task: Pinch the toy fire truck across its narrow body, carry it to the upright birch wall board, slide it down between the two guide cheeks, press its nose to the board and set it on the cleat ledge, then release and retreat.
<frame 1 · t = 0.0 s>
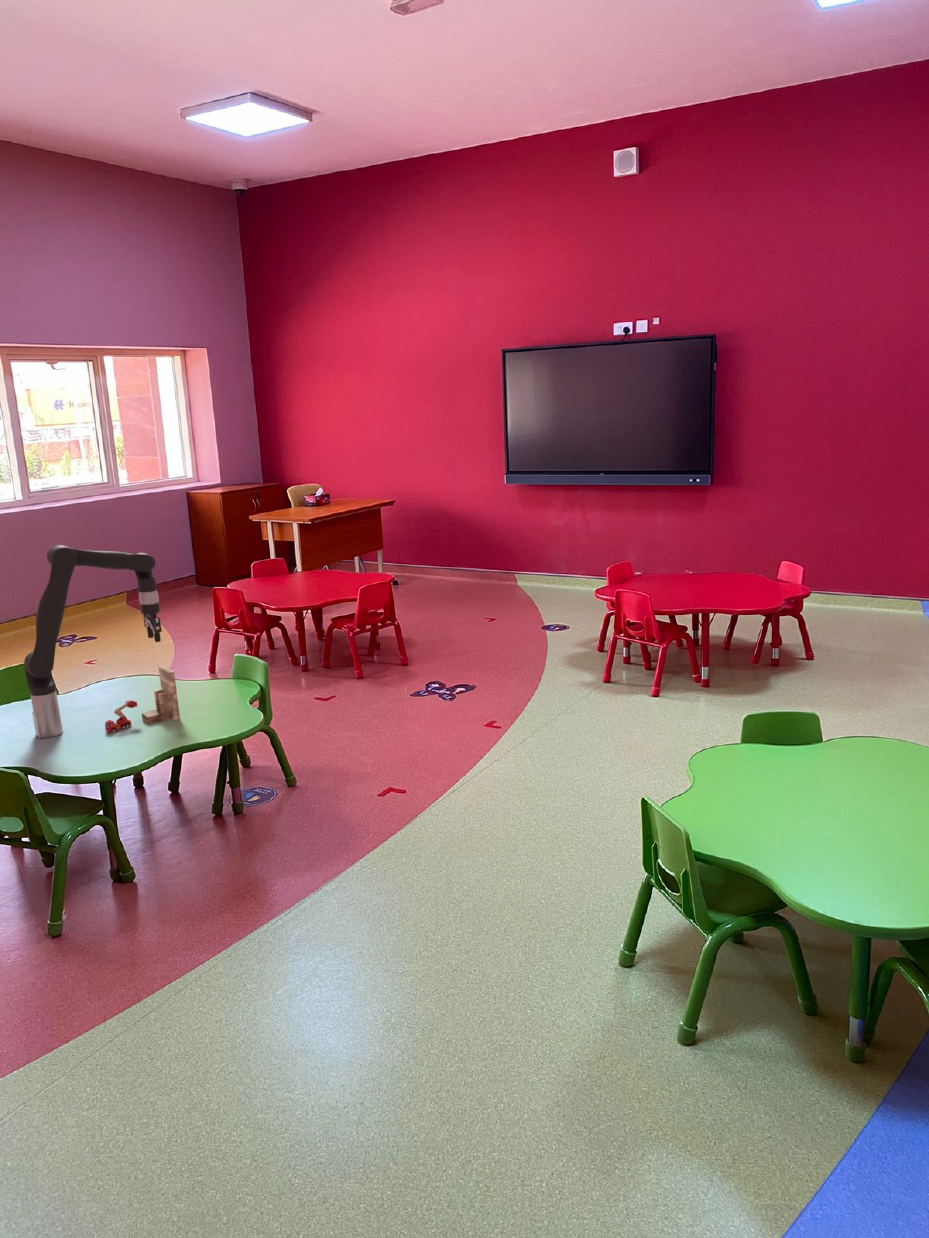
hand: (154, 639, 379), 29 cm above the table, fingers open, 8 cm apart
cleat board: (172, 715, 375), on the table
toy fire truck: (122, 728, 364), on the table
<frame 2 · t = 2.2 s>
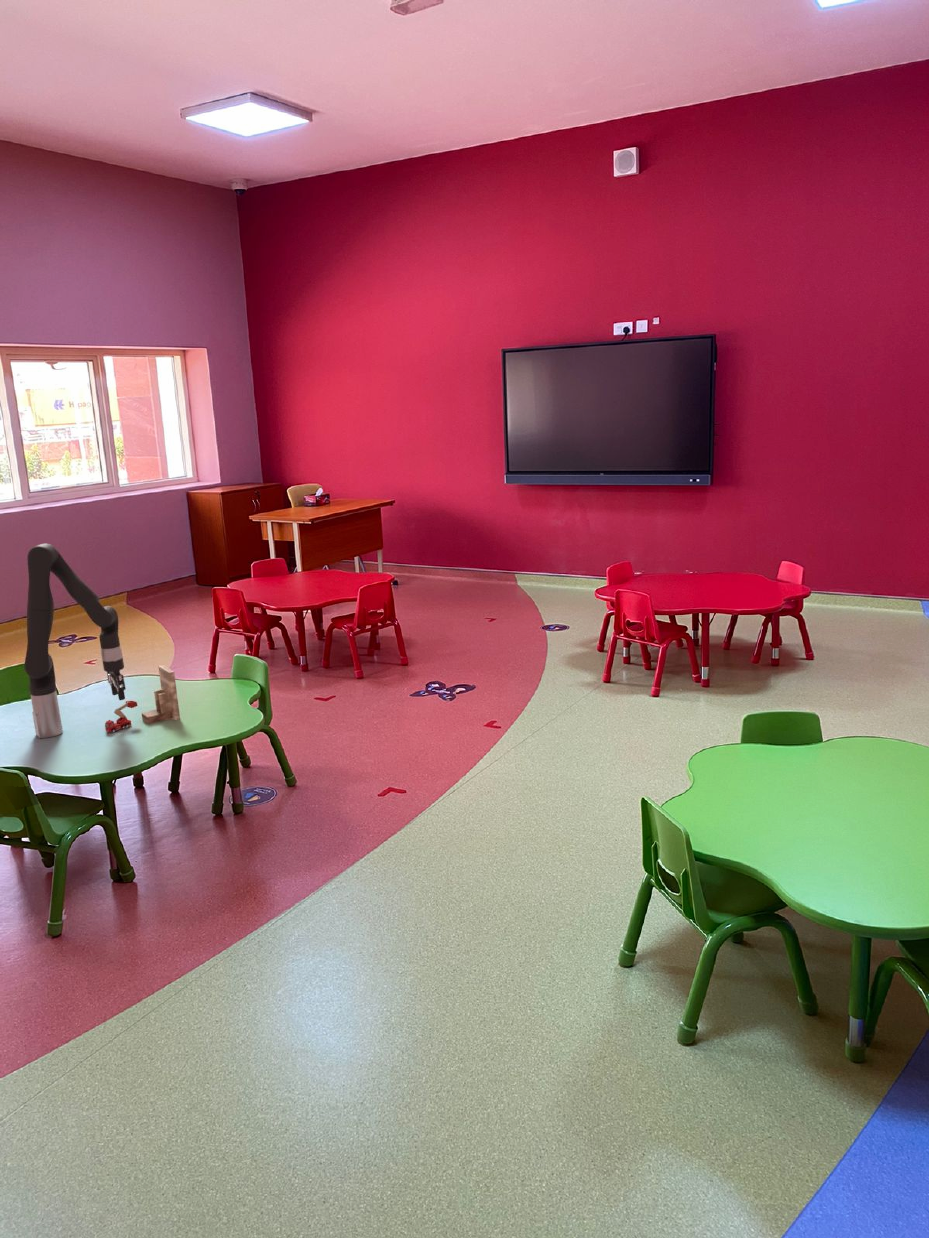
hand: (118, 697, 361), 13 cm above the table, fingers open, 8 cm apart
nothing on the table moved.
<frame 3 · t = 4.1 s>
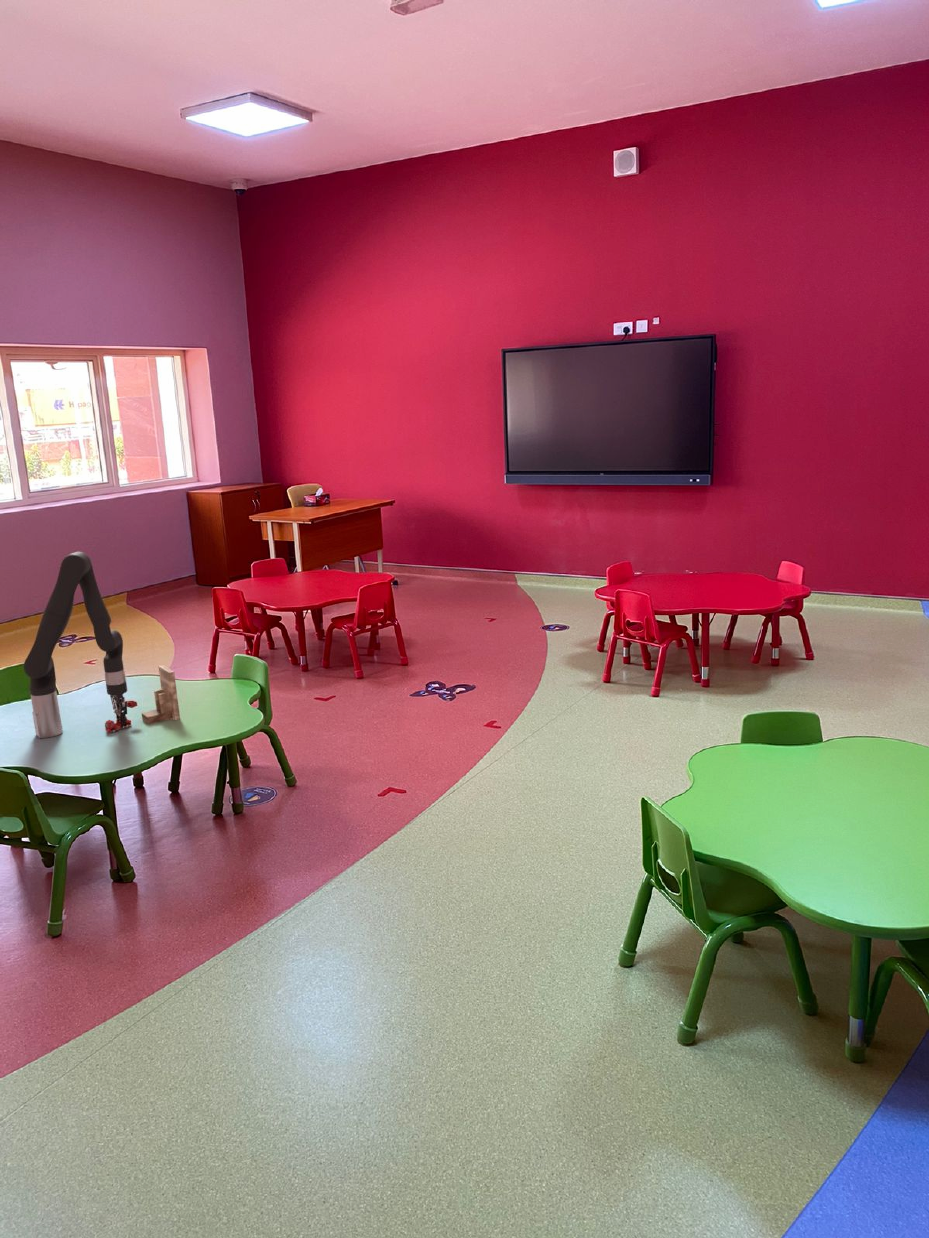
hand: (121, 722, 363), 2 cm above the table, fingers closed on toy fire truck, 4 cm apart
toy fire truck: (122, 728, 364), on the table, touching gripper
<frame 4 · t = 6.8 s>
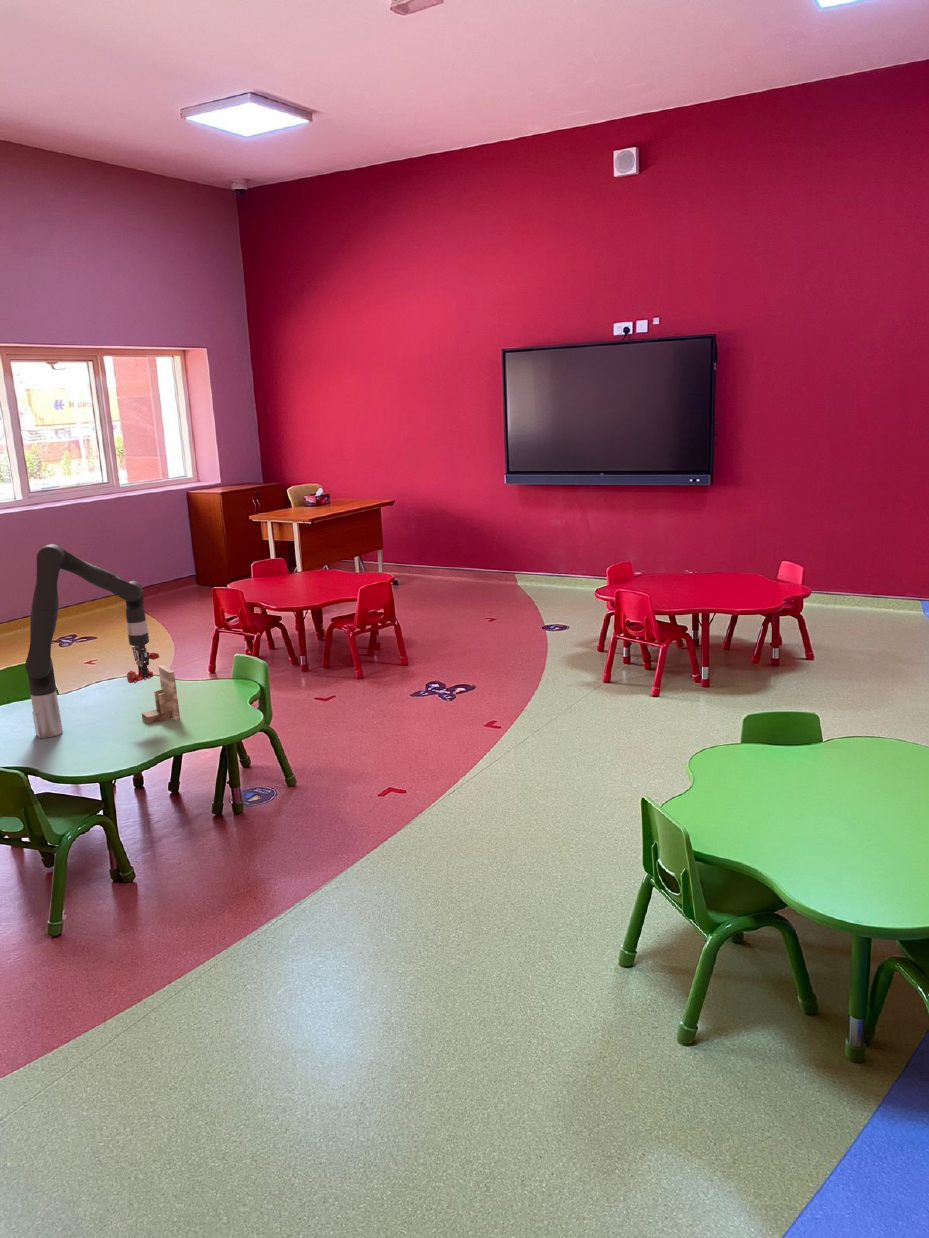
hand: (143, 673, 365), 20 cm above the table, fingers closed on toy fire truck, 3 cm apart
toy fire truck: (144, 679, 366), point 17 cm above the table, touching gripper
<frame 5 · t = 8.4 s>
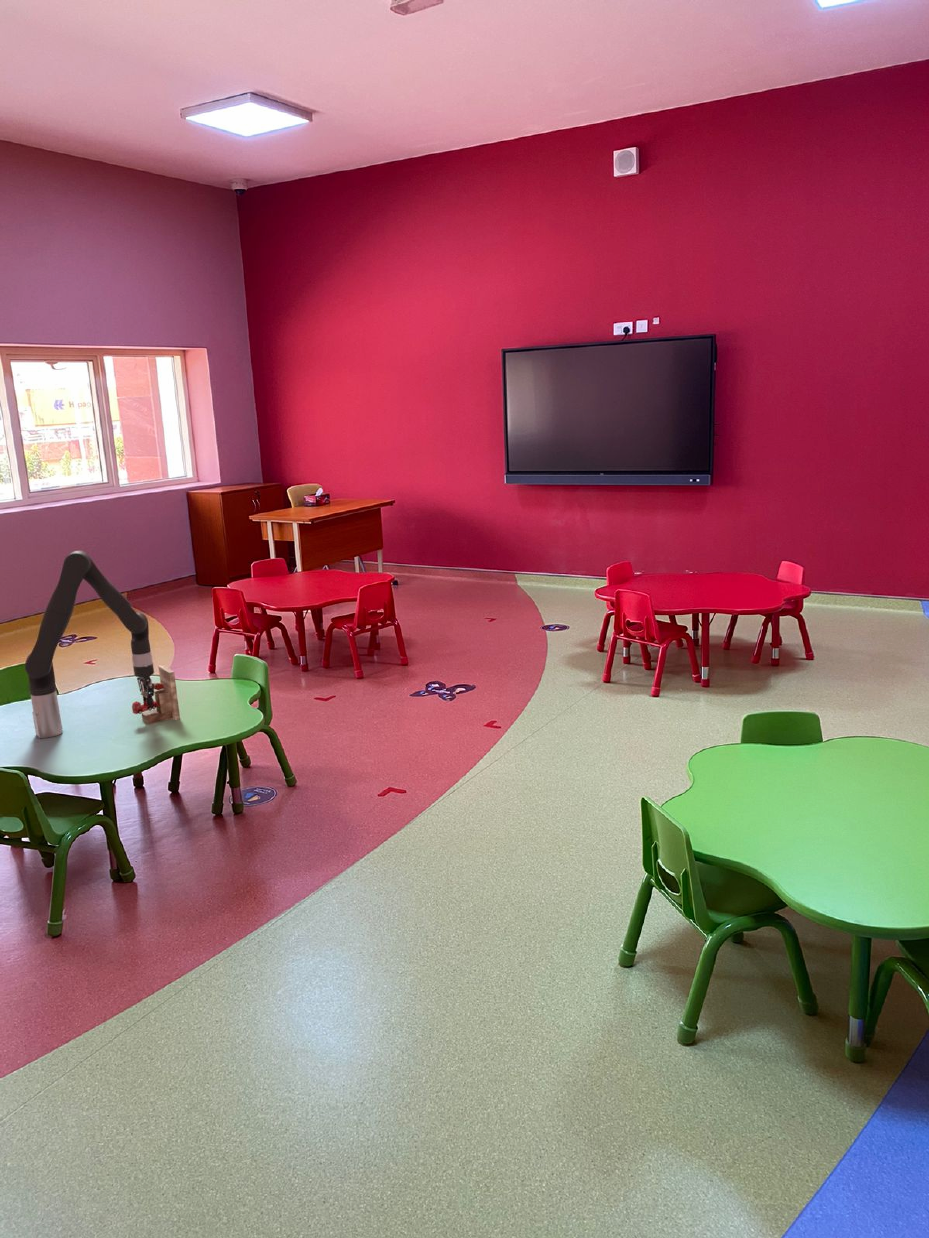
hand: (148, 704, 368), 7 cm above the table, fingers closed on toy fire truck, 3 cm apart
toy fire truck: (149, 710, 369), point 5 cm above the table, touching gripper
when the fingers open (6 cm above the table, at t = 9.6 s): toy fire truck stays where it is, resting on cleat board.
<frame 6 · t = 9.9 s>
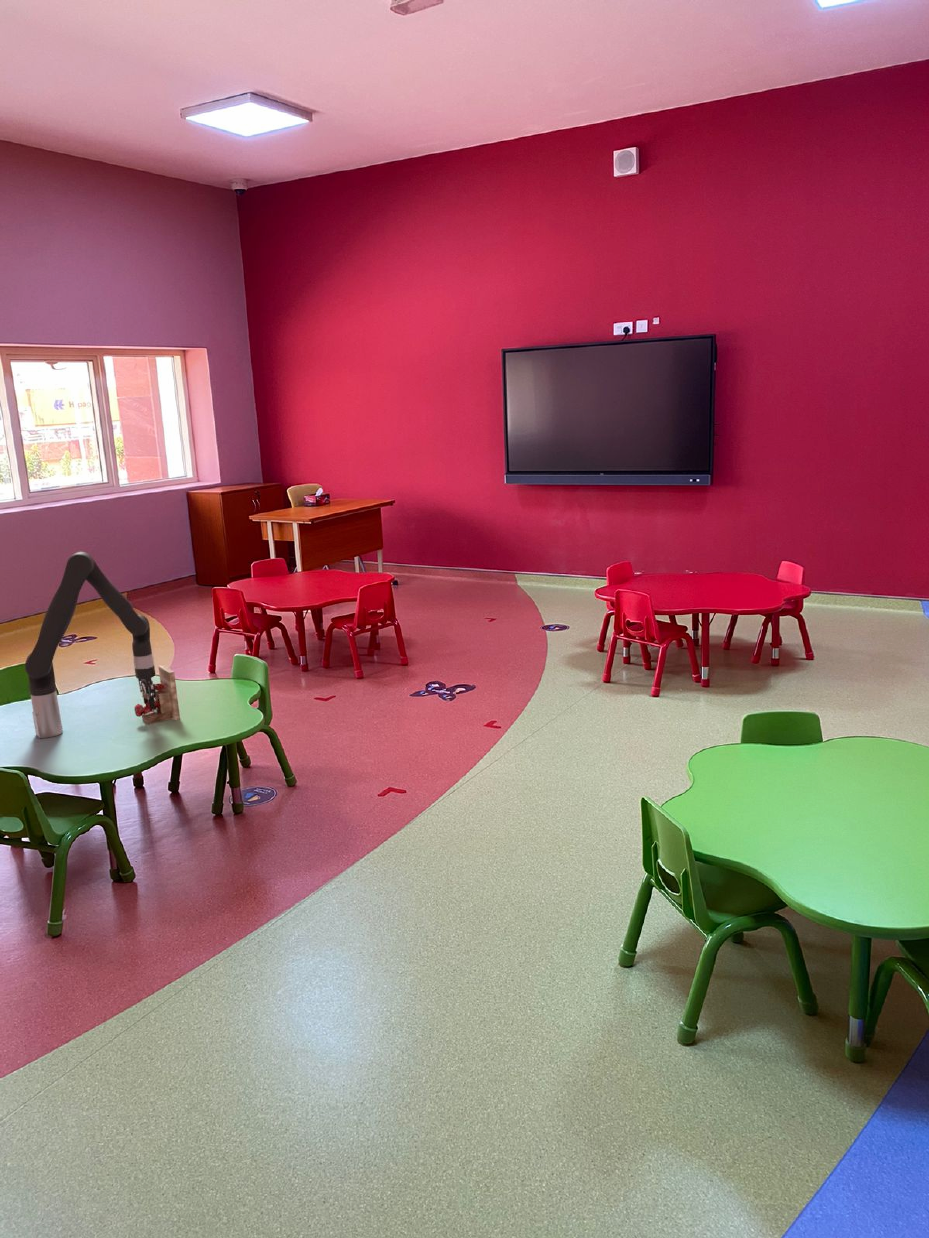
hand: (149, 705, 369), 7 cm above the table, fingers open, 5 cm apart
toy fire truck: (152, 711, 370), point 4 cm above the table, touching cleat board
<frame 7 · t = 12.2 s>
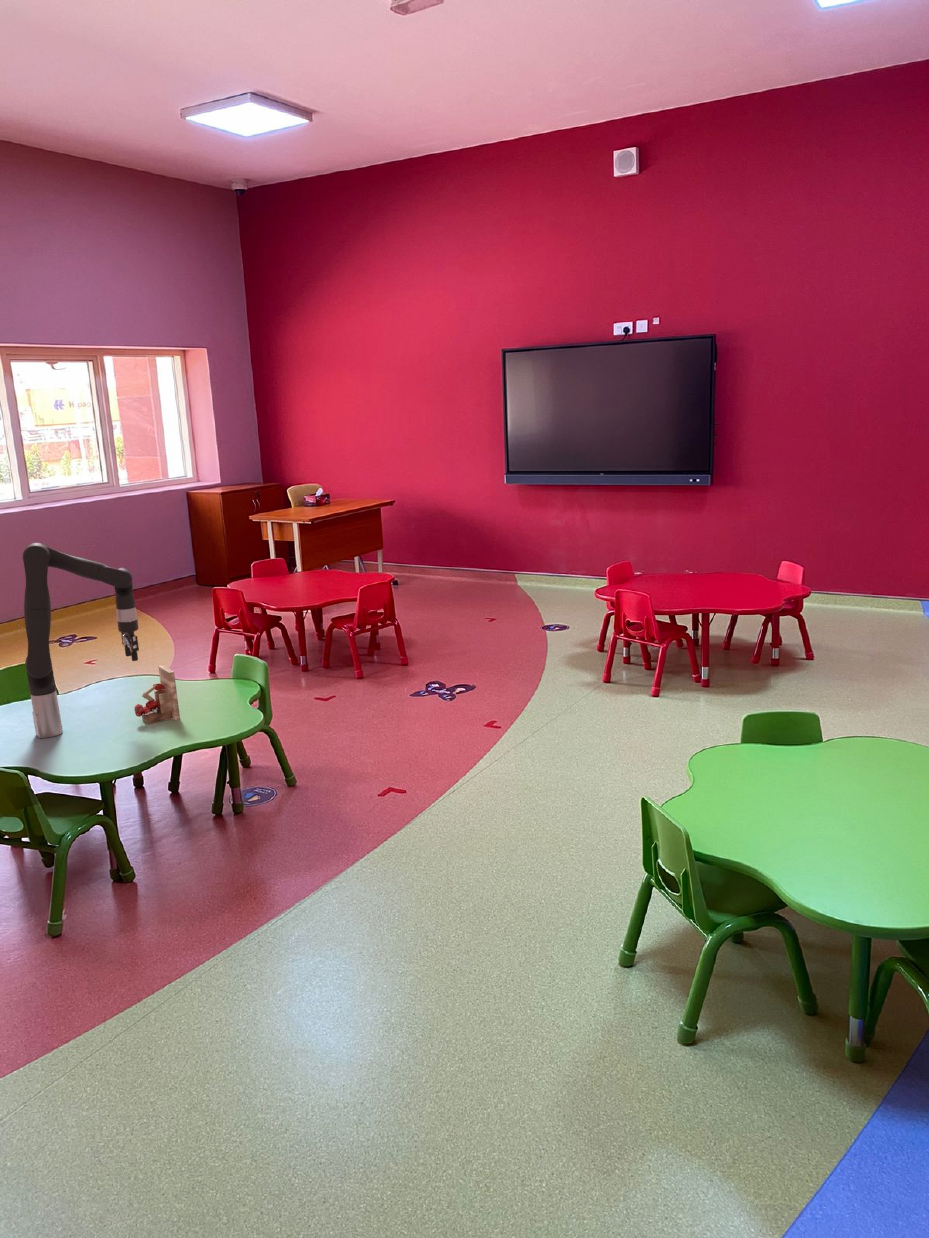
hand: (131, 658, 366), 26 cm above the table, fingers open, 8 cm apart
nothing on the table moved.
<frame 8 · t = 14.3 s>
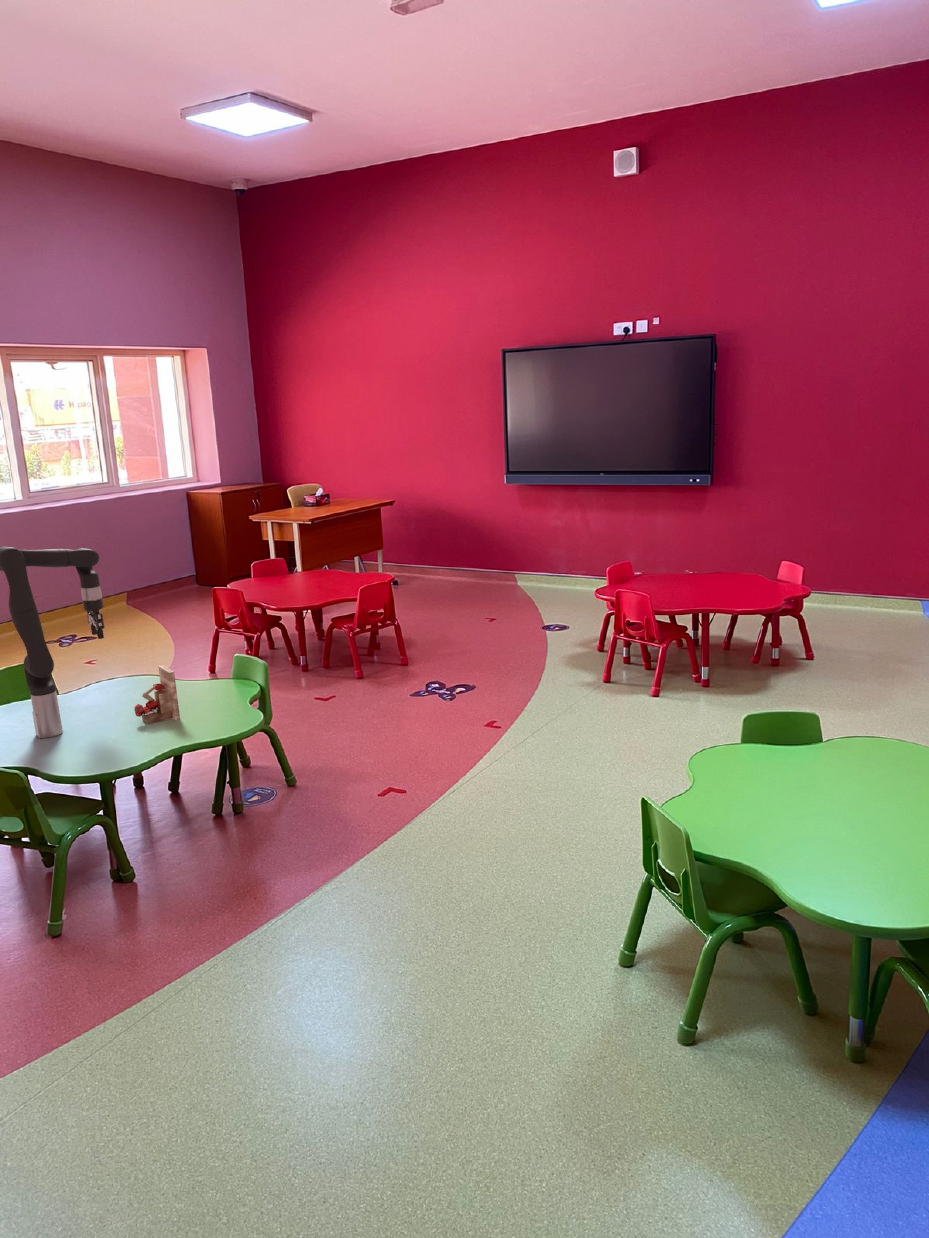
hand: (97, 636, 373), 33 cm above the table, fingers open, 8 cm apart
nothing on the table moved.
at the end: toy fire truck 0.4 cm from the target spot, point 3.8 cm above the table; toy fire truck tilted 6°; the gripper is holding nothing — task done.
